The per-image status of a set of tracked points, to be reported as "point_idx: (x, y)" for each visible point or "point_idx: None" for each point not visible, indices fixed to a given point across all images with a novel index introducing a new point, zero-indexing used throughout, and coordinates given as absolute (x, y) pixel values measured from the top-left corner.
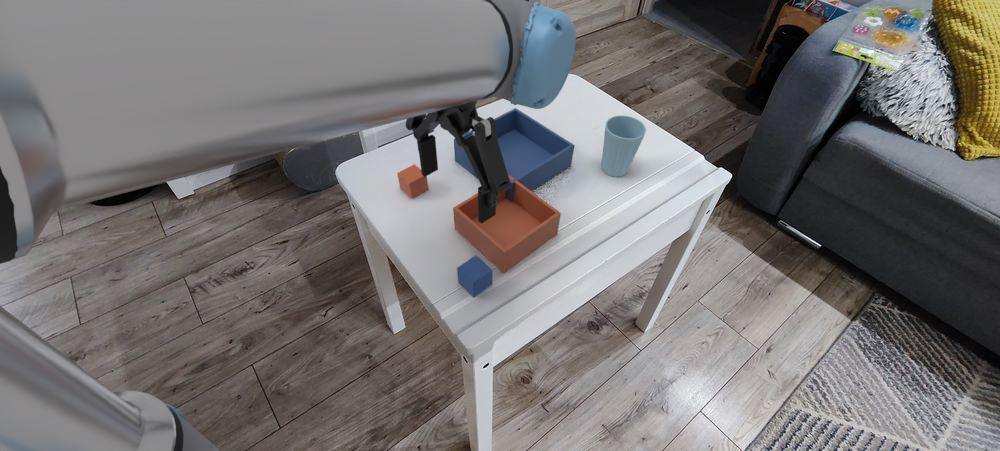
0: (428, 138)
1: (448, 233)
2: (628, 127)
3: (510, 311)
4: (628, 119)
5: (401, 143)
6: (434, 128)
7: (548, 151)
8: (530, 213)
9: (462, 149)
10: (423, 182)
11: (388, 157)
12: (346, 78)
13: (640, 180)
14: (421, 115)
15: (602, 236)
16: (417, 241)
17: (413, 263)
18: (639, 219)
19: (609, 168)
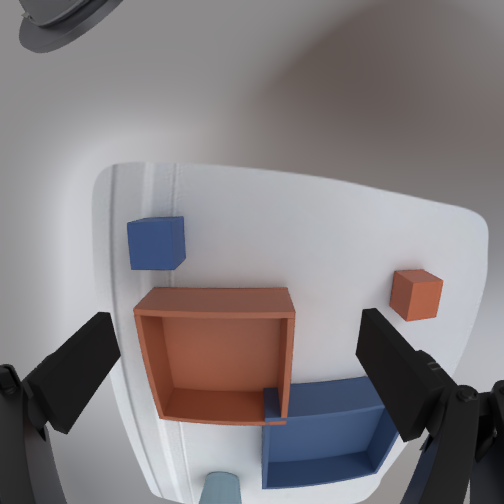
0: (419, 423)
1: (286, 272)
2: None
3: (98, 246)
4: None
5: (472, 323)
6: (412, 478)
7: (301, 460)
8: (222, 392)
9: None
10: (400, 307)
11: (471, 292)
12: None
13: (190, 478)
14: (484, 478)
15: (139, 413)
16: (310, 216)
17: (271, 179)
18: (142, 445)
19: (217, 479)
